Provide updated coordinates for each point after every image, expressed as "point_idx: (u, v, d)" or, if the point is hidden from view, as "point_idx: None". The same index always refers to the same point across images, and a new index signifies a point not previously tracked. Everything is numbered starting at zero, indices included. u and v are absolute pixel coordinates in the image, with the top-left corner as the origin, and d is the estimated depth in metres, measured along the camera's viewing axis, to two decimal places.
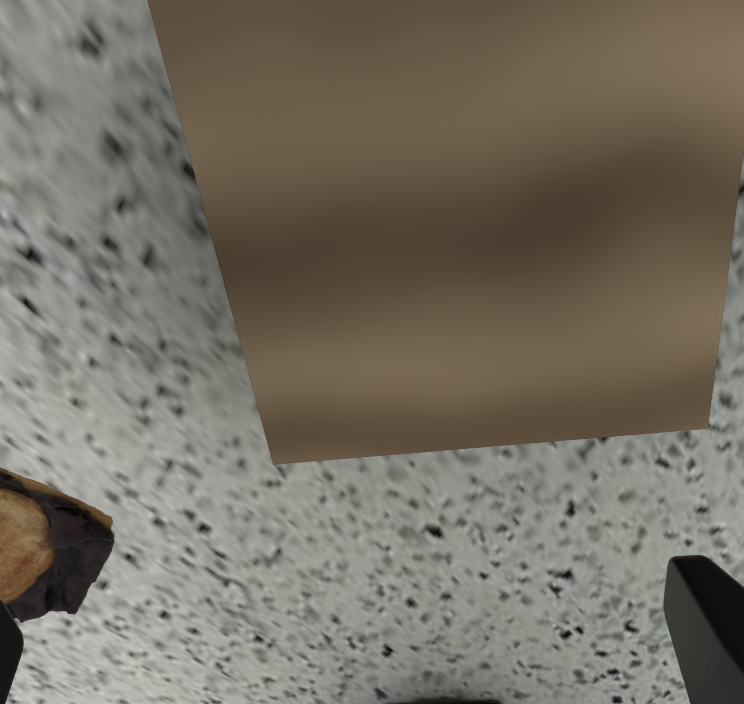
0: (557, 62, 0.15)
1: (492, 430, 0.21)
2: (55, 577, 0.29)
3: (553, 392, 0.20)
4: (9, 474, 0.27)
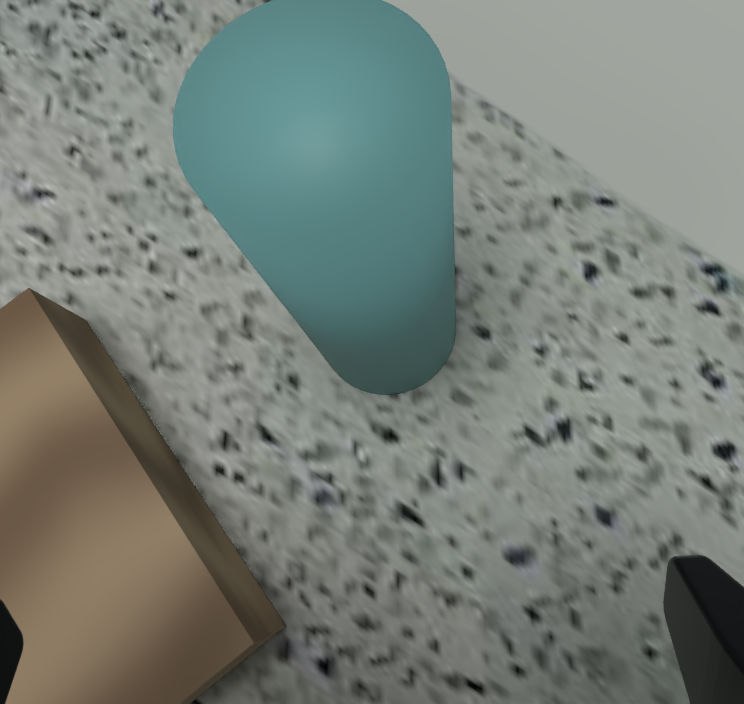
0: None
1: None
2: None
3: (85, 693, 0.18)
4: None
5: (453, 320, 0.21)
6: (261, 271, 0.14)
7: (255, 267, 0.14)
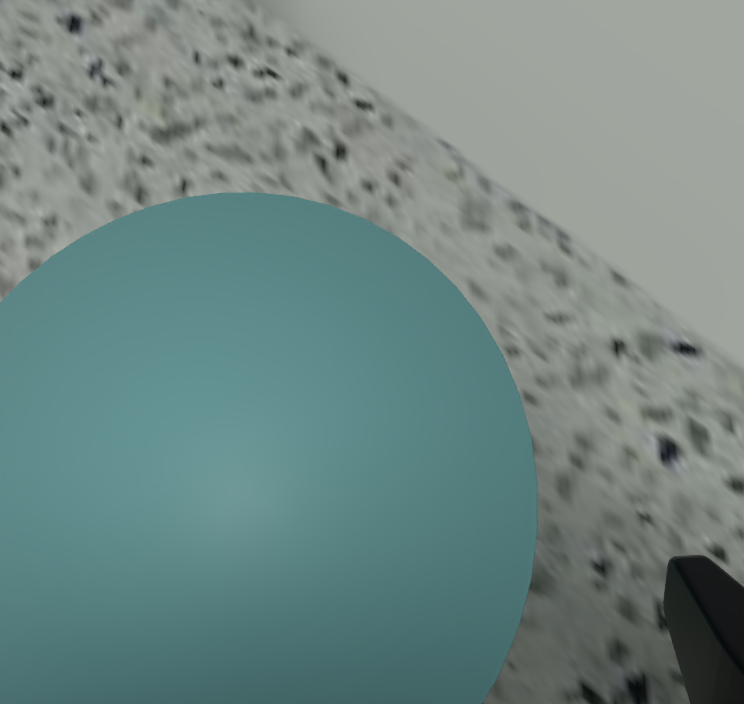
0: None
1: None
2: None
3: None
4: None
5: None
6: None
7: None
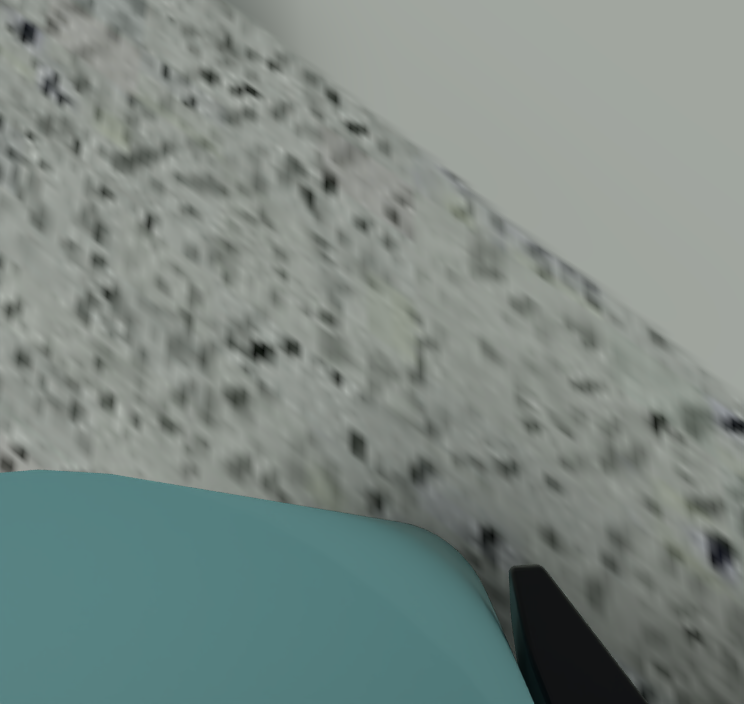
0: None
1: None
2: None
3: None
4: None
5: None
6: None
7: None
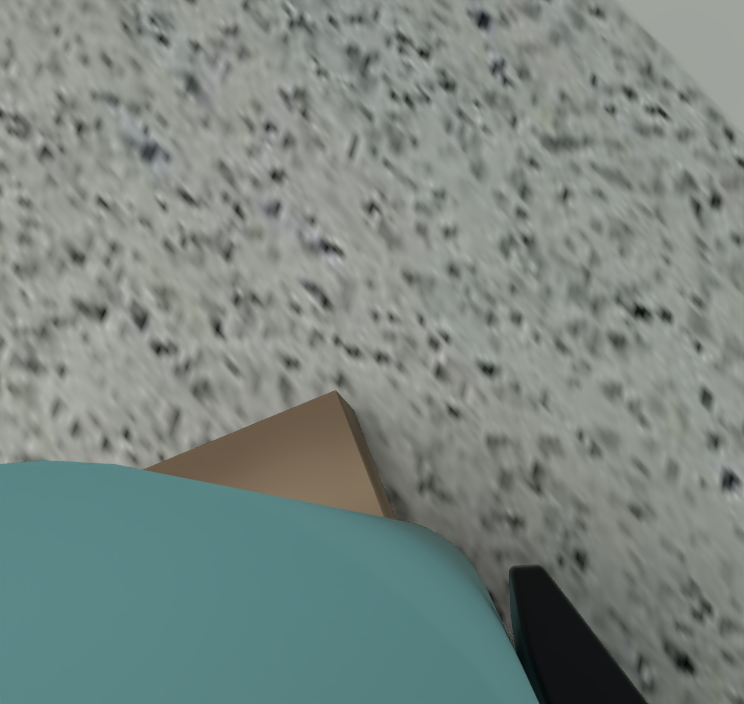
0: None
1: None
2: None
3: None
4: None
5: None
6: None
7: None
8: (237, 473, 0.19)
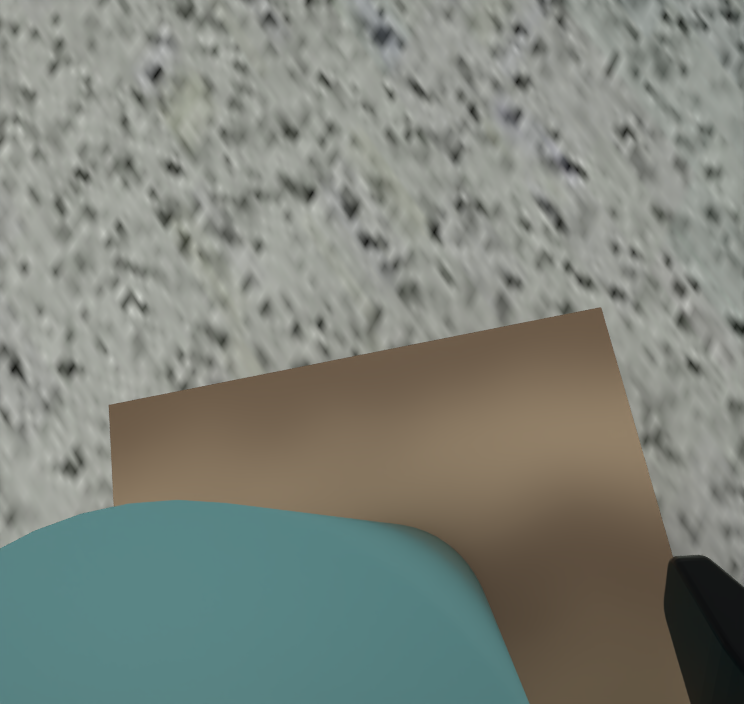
0: (454, 440, 0.17)
1: None
2: None
3: None
4: None
5: None
6: None
7: None
8: (477, 376, 0.17)
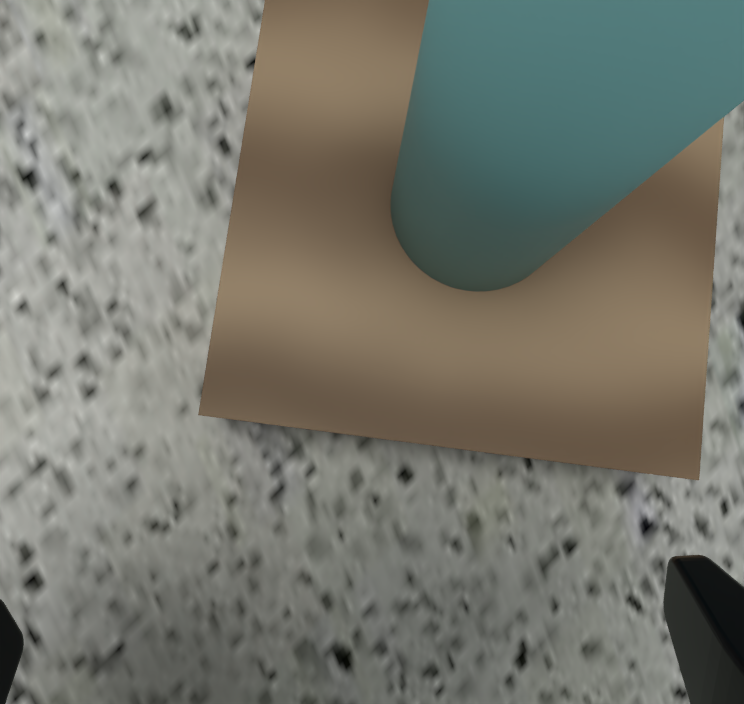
0: None
1: (466, 426, 0.18)
2: None
3: (538, 391, 0.18)
4: None
5: None
6: (481, 36, 0.08)
7: (468, 27, 0.08)
8: None
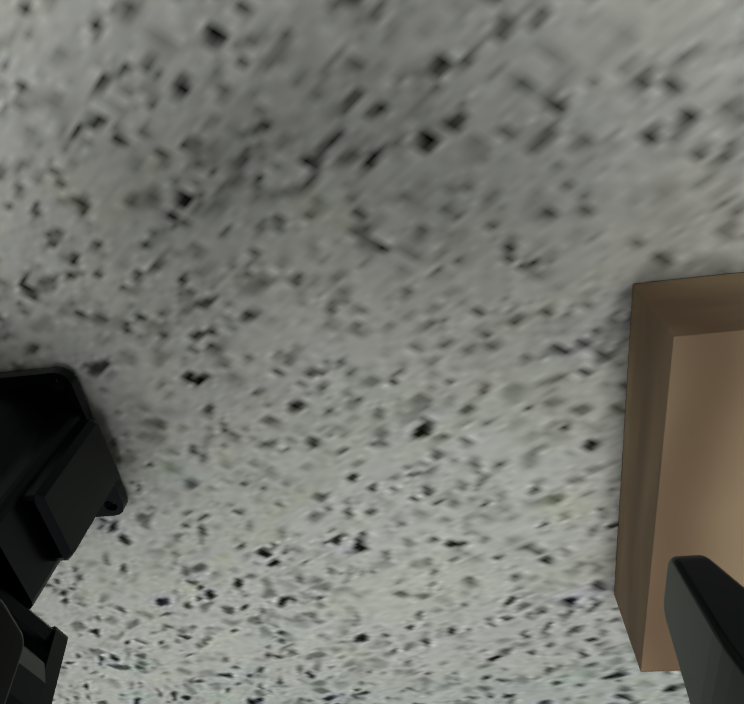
0: None
1: (674, 538, 0.20)
2: None
3: None
4: None
5: None
6: None
7: None
8: None
